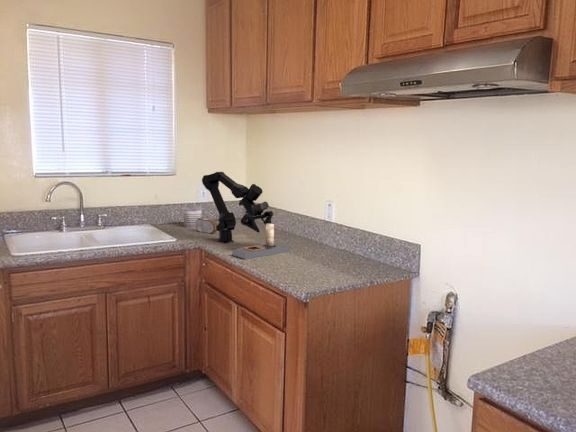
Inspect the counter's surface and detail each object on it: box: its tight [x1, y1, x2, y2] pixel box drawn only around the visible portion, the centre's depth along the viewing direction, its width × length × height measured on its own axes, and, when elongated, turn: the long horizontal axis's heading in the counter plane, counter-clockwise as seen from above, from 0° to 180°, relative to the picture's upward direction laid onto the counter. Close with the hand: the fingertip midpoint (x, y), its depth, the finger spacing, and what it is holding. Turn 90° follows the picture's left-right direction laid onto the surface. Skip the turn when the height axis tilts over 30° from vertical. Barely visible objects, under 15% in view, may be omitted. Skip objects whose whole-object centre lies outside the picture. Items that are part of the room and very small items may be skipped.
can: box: [182, 205, 203, 229], centre depth 305 cm, size 11×11×12 cm
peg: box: [265, 223, 275, 248], centre depth 241 cm, size 4×4×14 cm
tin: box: [195, 217, 218, 235], centre depth 286 cm, size 15×3×8 cm, turn 58°
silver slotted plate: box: [231, 241, 291, 260], centre depth 238 cm, size 28×10×3 cm, turn 132°
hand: (265, 230), depth 242 cm, fingers open, 9 cm apart
